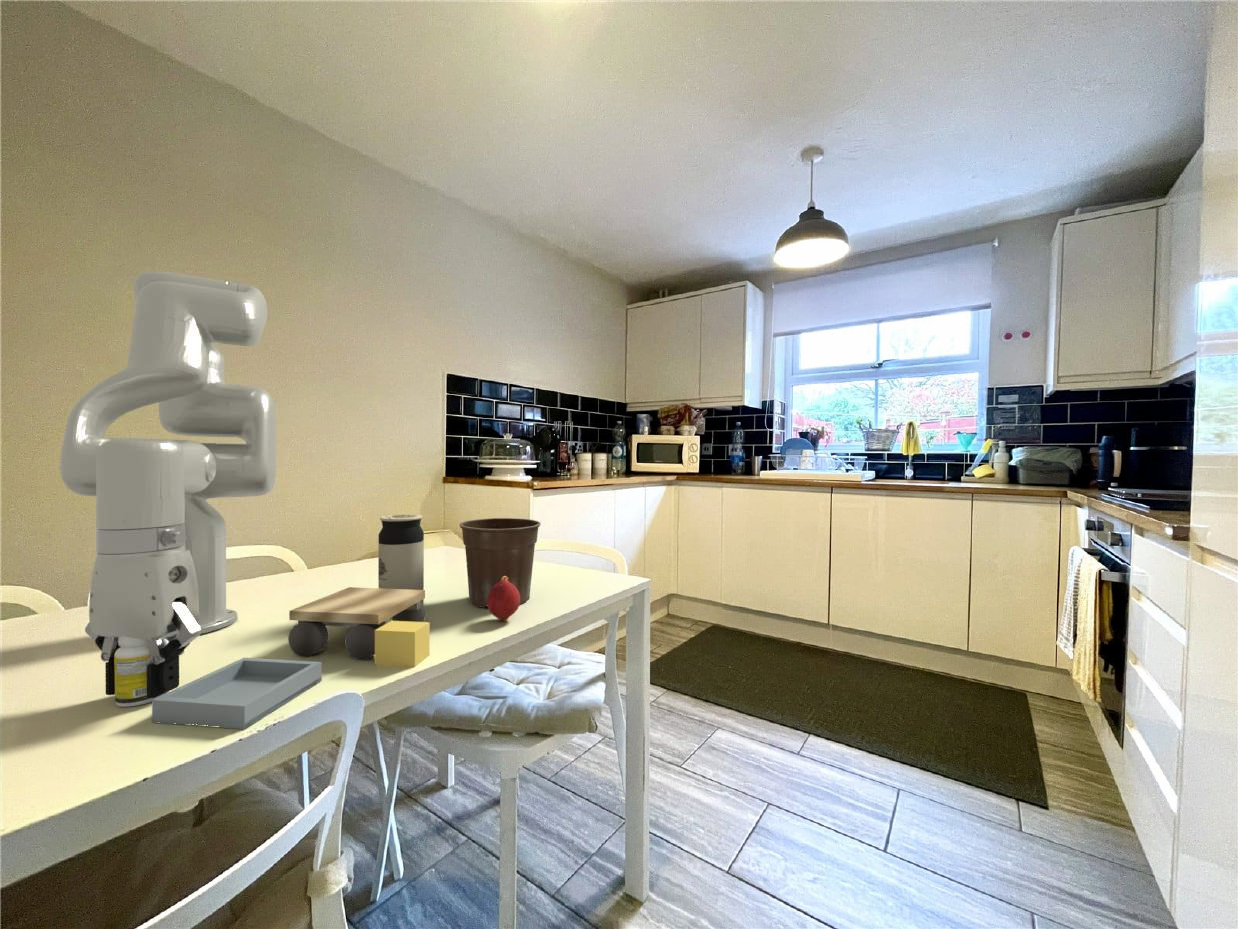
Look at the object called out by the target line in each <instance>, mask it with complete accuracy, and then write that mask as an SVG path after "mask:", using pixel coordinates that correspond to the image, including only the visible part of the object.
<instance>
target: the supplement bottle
mask: <svg viewBox="0 0 1238 929" xmlns="http://www.w3.org/2000/svg"><path fill="white" fill-rule="evenodd" d="M161 642H162V646H163V648H164V647H165V646H166V645H167V644H168V643H169V641H168V639H163V640H161ZM118 644H119V646H121V647H120V648H119V649H117V650H116V652H115V655H114V664H115V694H114V703H115V705H116V706H117V707H120V708H123V707H125V708H127V707H137V706H141V705H145V704H149V703H152V700H153V699H155V698H157V697H160V696H162V695H164V694H166V693H168V692H170V691H168V692H166V693H164V694H162V695H160V696H157V697H155V698H148V697H147V665H149V664H151V663H153V662H152V660H151V655H150V651H149V647H148V643H147V639H136V638H129V637H125V636H122V637H119V638H118Z"/></svg>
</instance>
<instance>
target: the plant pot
mask: <svg viewBox="0 0 1238 929" xmlns="http://www.w3.org/2000/svg"><path fill="white" fill-rule="evenodd" d="M541 524H542V523H541V521H538V520H535V519H529V518H514V517H513V518H511V517H505V518H504V517H499V518H498V517H496V518H495V517H494V518H493V517H492V518H491V517H490V518H479V519H471V520H466V521H463V522H460V523H459V528H460V529H461V533H462V541H463V542H462V544H463V545H464V546H465V547H464V549H465V550H464V551H465V558H466V559H465V560H466V570H467V575H466V576H467V583H468V584H467V586H468V599H469V600H468V601H469V603H470V604H472V606H475V607H479V608H483V609H484V608H487V607H488V606H487V597H488V595H489V592H490V591H491V589H492V588H493V587H494V586H495V585H496V584H497V583H499V582H500V580H501V578H502V577H503V576H507V577H508V582H510V583H512V584H513V585H514V586H515V587H516V588H517V589H518V591H519V593H520V605H523V604H525V603H527V601H528V600H529V599H530V596H531V584H532V577H533V576H532V575H533V566H534V558H535V557H534V556H535V547H536V543H537V541H538V535H539V534H538V533H539V527H540V526H541Z"/></svg>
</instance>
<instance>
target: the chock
mask: <svg viewBox="0 0 1238 929" xmlns="http://www.w3.org/2000/svg"><path fill="white" fill-rule="evenodd" d="M430 645H431V644H430V622H427V621H423V622H409V621H393V620H389V622H388V623H387V624H385V625H383V626H381V627H380V628H378V629H376V630H375V655H374V665H375V666H390V667H406V668H407V667H408V668H416V667H417V666H418V665H420V664H421V663H422V662H423V661H424V660H426V659H427V658H428V657H430V655H431V654H430V649H431V648H430V647H431V646H430Z"/></svg>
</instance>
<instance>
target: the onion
mask: <svg viewBox="0 0 1238 929" xmlns="http://www.w3.org/2000/svg"><path fill="white" fill-rule="evenodd" d="M520 605H521V604H520V593H519V591H518V589H517V588H516V587H515V586H514V585H513V584H512V583H510V582H508V577H507V576H503V577H502V578H501V580H500V582H499V583H497V584H496V585H495V586H494V587H493V588H492V589H491V591H490V592H489V595H488V597H487V606H486V607H487V610H488V611H489V612H490V613H491V615H492V616H493V617H494V618H497V619H498V620H500V621H502V622H504V621H507V620H508V619H509V618H510V617H512V616H513V615H514V614H515V613H516V612H517V611H518V609H519V607H520Z"/></svg>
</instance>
